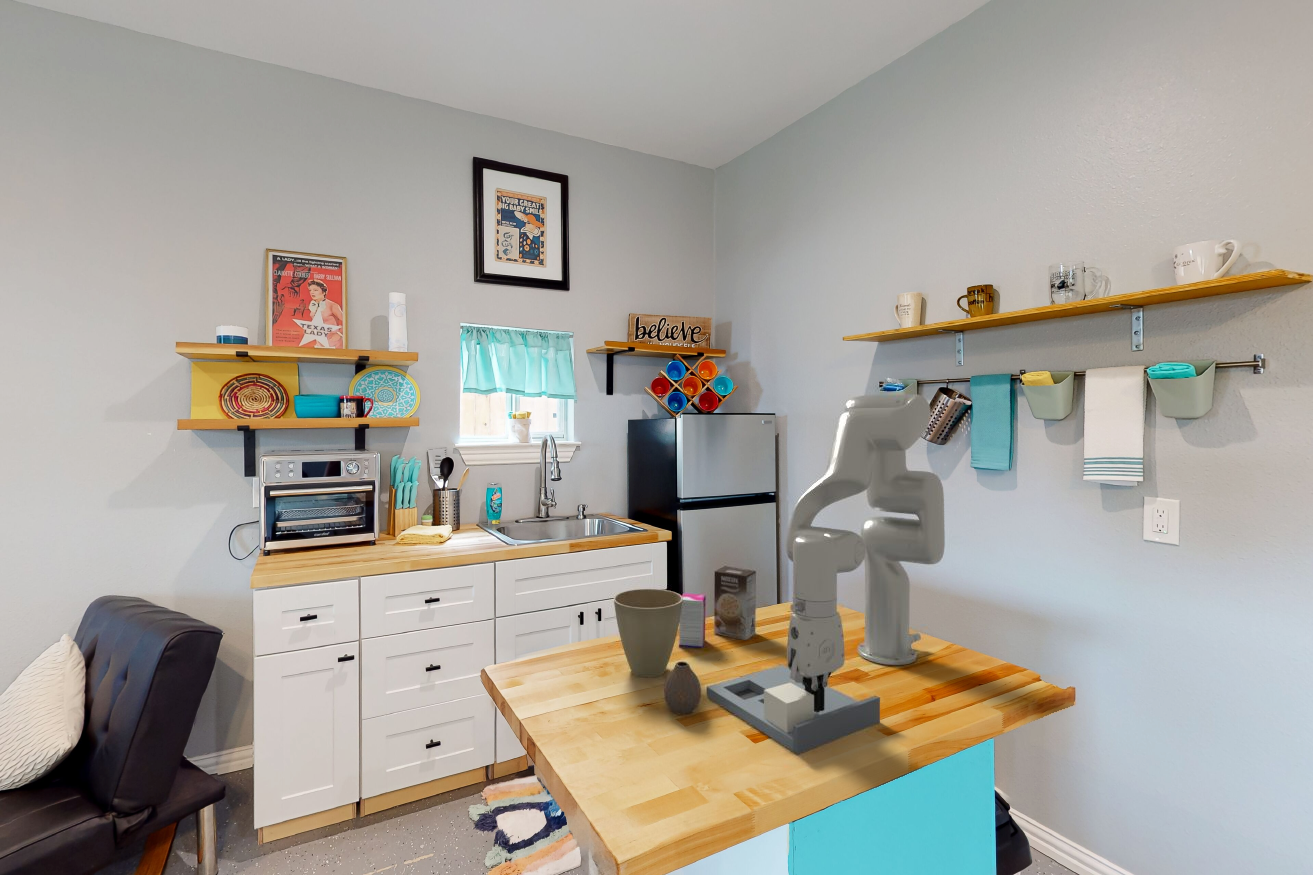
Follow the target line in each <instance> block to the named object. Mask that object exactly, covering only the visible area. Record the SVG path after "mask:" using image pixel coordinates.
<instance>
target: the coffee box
mask: <svg viewBox="0 0 1313 875" xmlns="http://www.w3.org/2000/svg"><path fill="white" fill-rule="evenodd" d="M756 586H757V570H753V569H746V568H740V567H739V568H738V567H733V566H726V565H725V566H724V565H723V566H722V567H720V568H717V570H715V571H714V592H713V593H714V598H713V600H714V602H713V603H714V605H713V607H714V608H713V609H714V611H713V612H714V613H713V614H714V616H713V617H714V624H713V626H714V628H713V630H714V631H713V634H715V635H720V636H724V637H730V638H734V639H740V640H741V641H742V640H743V641H747V640H748V639H749V638H751V637H752V636H753V635H755V634H756V623H757V622H756V619H757V618H756V617H757V616H756V613H757V611H756V609H757V608H756V605H757V604H756V602H757V600H756V599H757V596H756V594H757V591H756V589H757V587H756Z"/></svg>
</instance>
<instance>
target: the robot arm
mask: <svg viewBox="0 0 1313 875" xmlns="http://www.w3.org/2000/svg"><path fill="white" fill-rule="evenodd" d="M929 403H930V402H928V400H927V399H926V397H924V396H923V395H921V394H914V393H913V394H909V393H907V394H868V395H859V396H855V397H852V398H850V399H849V400H847V401H846V403H845V406H844V413H842V414H841V415H840V416H839V418H838V421H837V425H836V427H835V428H836V429H835V432H834V437H833V441H832V445H831V448H830V453H829V458H828V462H827V466H826V471H825V473H824V475H823V476H822V477H821V478H820V479H819V480H817V481H816V482H815V483H813V484H812V485H811V486H810V487H809V488H808V489H807V490H806V491H805V492H804V493H803V495H801V497H800V498H799V499H798V500H797V502H796V504H795V505H794V508H793V510H792V513H791V517H790V520H789V523H788V528H787V531H786V538H785V553H786V556H787V557H788V559H789V561H791V562H792V604H790V606H789V607H790V610H791V612H792V613H791V615H790V619H789V625H788V632H787V644H786V645H787V646H786V661H787V663H786V664H787V667H788V668H789V669H790V670H791V674H790V680H792V681H794V682H796V683H802V685H804V686H805V691H807V692H809V693H810V694H812V695H814V711H815V712H816V713H818V712H820V711H823V710H824V703H825V689H824V688H826V687H827V686H828V683H829V678H830V676H831V675H832V674H833V673H835V672H836V671H837V670H840V669H841V668H842V667H844V665H845V656H846V655H845V637H844V630H843V623H842V617H841V613H840V612H839V611H838V610H837V609H838V608H837V607H838V604H837V602H838V581H837V580H838V575H837V574H841V573H842V574H843V573H850V572H852V571H855V570H857V569H858V568H859V567H860V566H861V565H862V563H863V562H864V641H863V642H861V643H860V644H859V645H857V653H858V654H859V656H861V658H863V659H865V660H867V661H870V662H873V663H876V664H881V665H888V666H904V665H909V664H912V663H914V662H916V660H917V658H918V657H917V655H918V654H917V652H916V650H915V649H914V648H912V645H913V643H915V642H919V641H921V639H922V637H921V636H922V635H921V634H920V633H919V632H912V633H910V600H911V599H910V598H911V597H910V586H911V585H910V577H909V576H908V573H907V571H906V570H905V568H904V567H903V565H902V564H901V562H905V563H913V564H922V565H936V564H938V563H940V562H941V560H942V559H943V557H944V554H945V544H946V542H945V538H946V537H945V536H946V534H945V531H946V530H945V495H944V494H945V493H944V487H943V483H942V481H941V479H940V477H939V476H938V475H937V474H935V473H934V472H931V471H926V470H925V471H923V470H910V469H908V467H907V458H906V457H907V456H906V453H907V452H906V451H907V450H908V449H910V448H911V447H913V445H915V443H916V442H918V440H919V439H920V438H921V437H922V436H923V435H924V434H925V432H926V431H927V429H928V427H929V424H930V422H931V414H932V412H931V405H930V404H929ZM865 491H866V499H867V503H868V505H869V507H870V508H872V509H873V510H876V511H880V512H885V513H892V514H893V513H895V514H908V515H916V516H917V519H914V518H913V519H912V518H905V517H896V516H894V517H893V516H883V515H881V516H873V517H870V518H868V519H866V520H865V521H864V522H863V524H862V526H861V529H860V534H858V533H857V532H855V531H851V530H847V529H839V528H838V529H837V528H829V527H822V526H812V523H813V521H814V519H815V518H816V516H817V515H818V514H819V513H820V512H821V511H822V510H823V509H825V508H826V507H828V506H830V505H831V504H833V503H834V504H835V503H836V502H837V503H838V502H839V501H842V500H844V499H847V498H851V497H853V496H856V495H859V494H861V493H863V492H865Z"/></svg>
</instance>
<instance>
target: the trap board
mask: <svg viewBox="0 0 1313 875" xmlns="http://www.w3.org/2000/svg"><path fill="white" fill-rule="evenodd" d="M790 674H791V670H790V669H789V668H788V665H787V666H786V665H784V664H781V665H776V666H774V667H771V668H766V669H764V670H759V671H756V672H753V673H749V674H745V675H743V676H739V677H736V678H732V679H728V680H726V681H722V682H718V683H714V684H711V685H708V686H706V698H708V699H709V700H711V701H713V702H714V703H716V704H718V705H719V706H720V707H722V708H724V709H725V710H727V711H728V712H730V713H732V714H733V715H734V716H736V717H738V718H740V719H741V720H742V721H744V722H746V723H748V724H749V726H752V727H753V728H755V729H756V730H758V731H760V732H761V733H763V734H765V735H766V736H768V737H769V738H771V739H772V740H774V741H775V742H777V743H778V744H780V745H781V746H783V747H785V748H786V749H788V750H789V751H791V752H793V754H796V755H800V754H802V753H805V752H808V751H811V750H812V749H815V748H818V747H820V746H823V745H826V744H828V743H831V742H833V741H837V740H838V739H841V738H843V737H846V736H848V735H851V734H854V733H856V732H859V731H861V730H864V729H866V728H869V727H871V726H874V725H876V724H877V725H878V724H879V723H880V722H881V697H880V696H877V695H873V696H870V697H867V698H864V699H862V700H858V699H855V698H853V697H851V696H849V695H847V694H844V693H843V692H840V691H839V690H837V689H834V688H832V687H830V686H828V685H827V687H826V688H824V689H825V703H824V710H823V711H820V712H818V713H816V712H815V711H814V718H811V719H808V720H805V721H802V722H800V723H797V724H794V725H793V731H791V732H788V733H786V732H785V731H783V730H782V729H780V728H779V727H777V726H776V725H774V724H773V723H771V722H769V721H768V720H766V719H765V718H764V690H765V689H769V688H773V687H776V686H780V685H783V684H787V683H792V684H794V685H796V686H798V687H799V688H801V689H803V690H805V686H804V685H802V683H796V682H794V681H792V680H790Z"/></svg>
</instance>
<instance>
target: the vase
mask: <svg viewBox="0 0 1313 875" xmlns="http://www.w3.org/2000/svg"><path fill="white" fill-rule="evenodd" d="M663 686H664V687H663V697H664V700H665V703H666V705H667V707H668V708H669V710H670V711H671V712H673V713H674V714H675V715H676V714H677V715H679V716H680V715H681V716H684V715H689V714H692V713H693V712H694V711H695V710H696V709H697V707H698V706H699V704H700V701H701V695H702V688H701V683H700V680H699V678H698V676H697V674H696V673H695V671H693V669H692V668H691V666H690V664H689V663H688V662H687V661H678V662H676V663H675V665H674V666H673V669H672V670H671V671H670V672H669V674H668V675H667V677H666V679H665V681H664V685H663Z"/></svg>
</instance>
